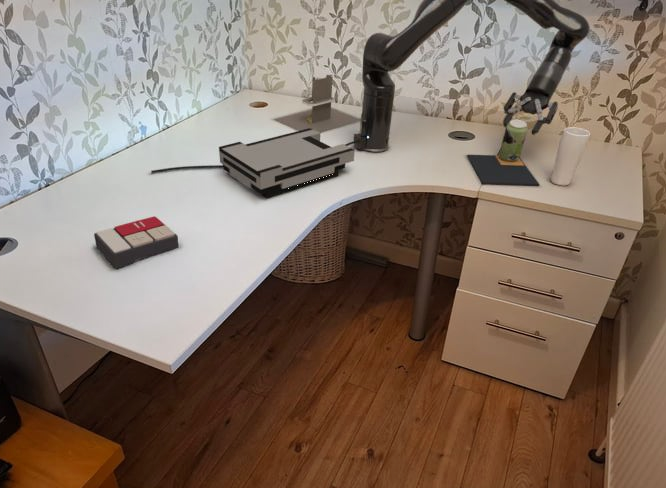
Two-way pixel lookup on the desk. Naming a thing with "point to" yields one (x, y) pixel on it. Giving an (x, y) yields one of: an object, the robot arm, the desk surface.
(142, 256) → the button panel
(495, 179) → the desk mat
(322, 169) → the game console
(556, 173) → the drinking glass
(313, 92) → the architectural model
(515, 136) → the beverage can
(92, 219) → the desk surface
